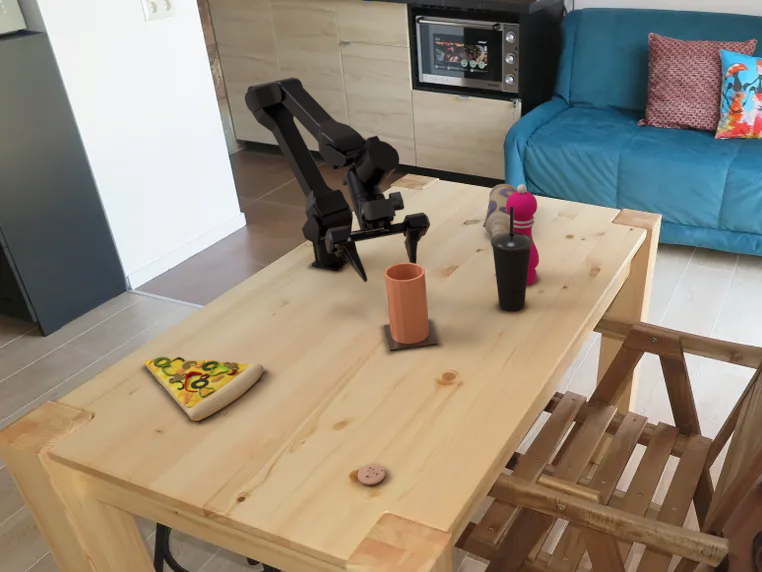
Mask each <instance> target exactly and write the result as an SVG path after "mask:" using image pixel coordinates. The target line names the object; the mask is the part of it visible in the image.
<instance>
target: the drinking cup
mask: <svg viewBox="0 0 762 572" xmlns="http://www.w3.org/2000/svg"><path fill="white" fill-rule="evenodd" d="M491 237H492V236H491ZM532 238H533V237H532ZM532 238H531V237H530V236H528V235H526V234H523V233H519V232H514V207H510V232H504V233H500V234H497V235H495V236H494V237H492V238H490V245H491V247H492V254H493V261H494V263H493V264H494V272H495V278H496V279H495V281H496V288H497V297H498V306H499V308H500V309H501V310H502V311H504V312H507V313H516V312H520V311H522V310H523V309H524V307H525V304H526V303H525V302H526V295H527V294H526V293H527V286H528V285H527V277H528V267H529V258H530V249H531V246H532V244H533V241H534V239H533V240H532Z"/></svg>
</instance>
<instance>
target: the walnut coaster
mask: <svg viewBox="0 0 762 572" xmlns="http://www.w3.org/2000/svg"><path fill="white" fill-rule="evenodd" d="M428 321H429V335H428V337H427V338H426V339H425V340H423V341H421V342H418V343H413V344H403V343H399V342H397V341H395V340H394V339H393V338H392V336H391V331H390V324H384V325H383V327H384V331H385V336H386V340H387V345H388V346H389V352H396V351H402V350H408V349H417V348H423V347H430V346H437V345H438V340H437V338H436V334H435V331H434V328H433V326H432V323H431V321H430V319H428Z"/></svg>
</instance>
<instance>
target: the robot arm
mask: <svg viewBox="0 0 762 572" xmlns="http://www.w3.org/2000/svg"><path fill="white" fill-rule="evenodd" d="M246 90H247V91H246V93H245V95H244V102H245V105H246V107H247V109H248V110H249V111H250V112H251V114H252V116H253V117H254V118H255V120H256V122H257V123H258V124H260V125H261V126H262V127H264V128H265V129H267V130H268V131H270V132H271V133H272V135H273V137H274V139H275V141H276V142H277V144H278V146H279V148H280V150H281V152H282V154H283V156H284V158H285V160H286V163H287V164H288V166H289V167H290V169H291V172H292V173H293V176H294V177H295V179H296V181H297V183H298V184H299V186H300V188H301V191H302V193H303V194H304V196H305V208H304V209H305V211H304V213H305V216H306V218H307V220H306V221H305V223H304V224H303V226H302V228H301V232H302V234H303V237H304V239H305V240H306V241H308V242H311V243H312V249H313V255H314V261H313V262H312V263H310V264H311V267H313V268H319V269H323V270H324V269H325V270H330V271H333V272H334V271H335V272H338V271H340V270H341V269H342V268H344V266H346V265H348V264H349V265H350V266H351V267H352V269H353V270H354V271H355V272H356V273H357V275H358V276H359V277H360V278H361V280H362V281H363V282H364V283H367V282H368V278H367V277H368V276H367V273H366V270H365V268H364V265H363V263H362V259H361V258H360V255H359V252H358V249H357V245H356V242H361V241H368V240H372V239H378V238H383V237H391V236H396V235H400V234H402V235H403V237H404V238H405V239H404V241H403V243H404V247H405V250H406V254H407V258H408V263H414V264H417V255H418V254H417V253H418V252H417V251H418V243H419V242H420V241H421V239H422V238H423V237H424V236H426V234H427V233H428V230H429V228H430V226H431V222H430V219H429V216H428V215H427V214H426V213H424V212H416V213H412V214H406V215H405V216H404V219H403V221H402V222H397V223H396V222H395V223H392V222H394V219H395V217H397V215H396V212H397V211H402V210H404V209H405V204H404V199H403V196H402V193H401V191H395V192H390V193H389V194H388V198H386V196H385V194H384V193H383V191H382V189H381V188H382V187H381V185H382V184H384V183H385V182H386V181H387V180H388V178H389V177H390V176H391V175H392V174H393V172H394V171H395V170H396V168H398V166H399V164H400V155H399V152H398V150H397V148H394V146H393V145H392V144H390V143H389V142H387V141H383V140H381V139H380V138H379V136H378V135H374V136H369V137H367V139H366V138H365V137H363V136H362V135H361V133H359V132H358V131H357V130H355V129H354V128H353V127H352V126H351V125H349V124H347V123H343V122H339V121H337V120H335V118H333V117H332V116H331V115H330V114H329V113H328V111H326V110H325V109H324V107H323V106H321V104H320V103H319V102H318V101H317V100H316V99H315V98H314V97H313V96H312V95H311V94H310V93H309V91H307V89H305V88H304V86H303V84H302V82H301V80H300V79H299V78H298V77H292V76H291V77H287V78H282V79H277V80H273V81H268V82H264V83H258V84H254V85H249V86H248V87H247V89H246ZM295 119H296V120H297V121H298V122H299V123H300V124H301V125H302V126H303V127H304V128H305V129H306V131H307V132H308V133H309V134H310V135H311V136H312V137H313V138H314V139H315V141H316V142H317V144H318V145H317V146H318V147H317V148H318V153H319V154H320V156H321V157H322V158H323V160H324V162H325V163H326V164H327V165H328V167H330V168H331V169H333V170H339V169H343V168H346V167H349V166H351V167H350V168H349V169H348V170H345V174H344V176H343V178H342V182H341V183H342V185H343V186H347V189H348V192H349V195H350V199H351V203H352V206H353V210H352V209H351V206H350V204H349V203H348V202H347V200H346V198H345V195H344V194H343V192H342V190H341V189H339V188H338V189H335V190H334V189H333V188H331V187H330V186H329V185H328V184H327V182H326V180H325V177H324V176H323V174H322V172H321V170H320V168H319V166H318V165H317V162H316V161H315V158H314V157H313V155H312V153H311V151H310V148H309V146H308V145H307V143H306V142H305V140H304V137H303V135H302V134H301V132H300V130H299V128H298V126H297V124H296V122H295ZM353 211H354V214H353ZM354 215H355V216H356V220H357V223H358V227H359V229H358V230H352V229H353V220H354Z"/></svg>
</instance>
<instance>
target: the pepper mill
mask: <svg viewBox="0 0 762 572" xmlns="http://www.w3.org/2000/svg"><path fill="white" fill-rule="evenodd" d="M516 189H517V192H514V193H512V194H511V195H510V196H509V197H508V199H507V202H506V209H507V212H508V213H509V214H510V207H514V232H519V233H523V234H526V235H528V236H530V237H531V238H532V240H533V244H532V246H531V249H530V258H529V267H528V277H527V286H530V285H532V284H534V283H535V282H536V280H537V269H536V268H537V267H538V265H539V262H540V254H539V251H538V248H537V246H536V244H535V242H534V238H533V226H534V225H535V216H534V215H535V214H536V212H537V210H538V201H537V198H536V196H535V195H534V194H532V192H529V191H528V190H527V185H525V184H523V183H521V184H519V185H518V186H517V188H516ZM509 224H510V216H509Z"/></svg>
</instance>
